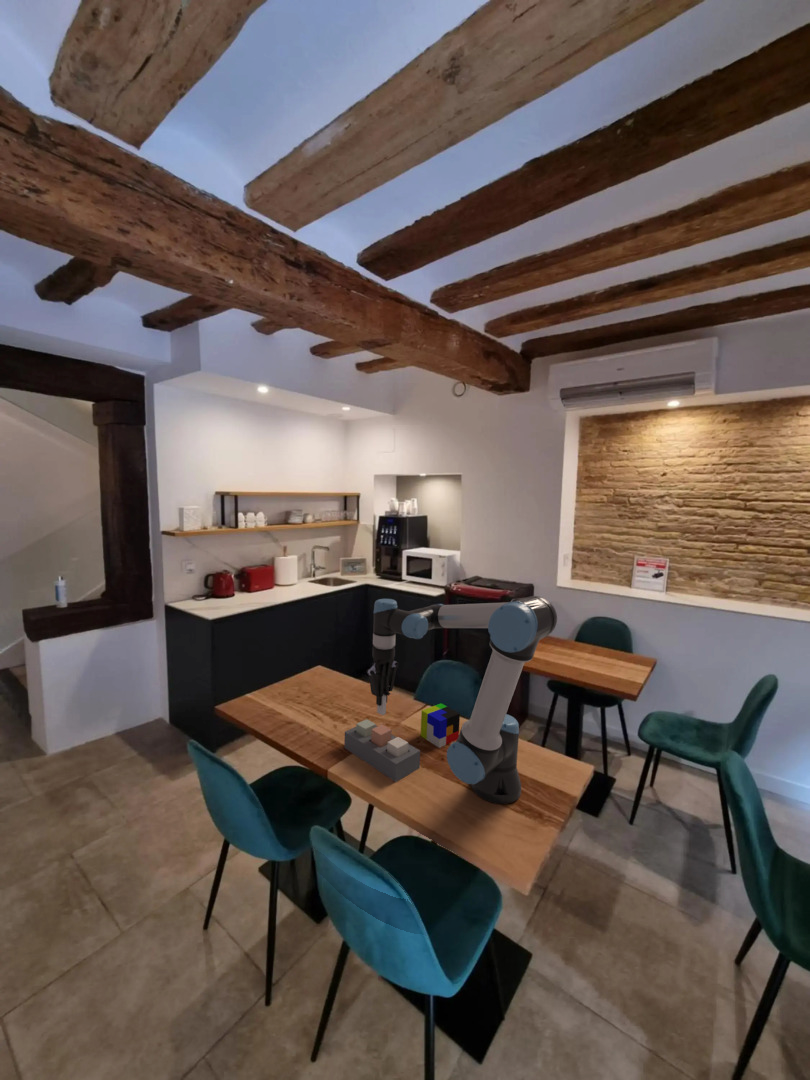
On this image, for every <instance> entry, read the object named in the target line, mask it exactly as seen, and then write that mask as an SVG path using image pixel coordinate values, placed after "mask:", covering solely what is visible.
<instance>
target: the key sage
mask: <svg viewBox="0 0 810 1080" xmlns="http://www.w3.org/2000/svg"><path fill="white" fill-rule="evenodd" d="M376 726H377V724H376V723H375V722H373V721H371V720H369V719H367V718H366V719H364V720H362V721H359V722H357V723H356V726H355V727H356V733H357V734H359V735H361V736H362V737H364V738H366V737H368V736H371V731H372V729H373V728H376Z"/></svg>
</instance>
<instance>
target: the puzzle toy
mask: <svg viewBox="0 0 810 1080" xmlns="http://www.w3.org/2000/svg"><path fill="white" fill-rule="evenodd" d="M460 716H461V713H460V712H458V711H456V710H454V709H452V708H451V707H449V706H447V705H445V704H444V703H442V702H441V703H439V704H436V705H433V706H430V707H426V708H424V709H421V717H420V719H421V720H420V737H422V738H423V739H425V740H426V741H428V742H430V743H431V744H433V745H434V746H435V747H437V748H442V747H444V746H447V745H448V744H452V743H453V742H456V741H457V739H458V736H459V733H460V720H461V719H460Z"/></svg>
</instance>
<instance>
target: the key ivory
mask: <svg viewBox="0 0 810 1080" xmlns="http://www.w3.org/2000/svg"><path fill="white" fill-rule="evenodd" d="M396 737H397V738H395V739H393V740H391V741H389V742H388V745H387V752H388V753H390V754H392V755H393V756H395V757H397V758H399V757H401V756H402V755H404V754H406V753H408V744H409V742H408V741H406V740H404V738H403V739H402V738H401V737H399V736H396Z"/></svg>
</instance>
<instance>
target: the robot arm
mask: <svg viewBox="0 0 810 1080" xmlns="http://www.w3.org/2000/svg"><path fill="white" fill-rule="evenodd" d="M373 607H374V608H373V630H372V631H373V632H372V653H371V654H372V658H373V661H372V666H371V667H370V668H366V674H367V675H368V679H369V686H370V692H371V695H373V696H374V697H375V699H376V700H375V701H376V702H375V704H376V706H377V707H376V713H377V714H379V715H381V716H385V715H386V714H387V713H386V712H387V711H386V710H387V703H388V696H390V695H391V693H390V692H392V691H393V690H394V689H393V688H394V685H395V678H396V675H397V669H398V667H399V666H400V663H399V662H397V661H395V657H396V640H397V639H396V634H399V635H402V636H404V637H406V638H409V639H415V640H421V639H422V638H423V637H424V636H425V635H426V634H427V633H428V631H430V630H433V629H488V633H489V635H490V636H489V639H490V640H489V647H490V648H491V649H492V651H491V655H490V659H489V662H488V664H487V667H486V670H485V673H484V676H483V679H482V682H481V685H480V688H479V692H478V694H477V697H476V699H475V703H474V707H473V709H472V712H471V714H470V715H471V716H470V718H469V719H468V720H466V721H464V722H463V723H462V725H461V727H460V729H459V736H458V739H457V740H455V741H453V742H451V743H450V745H449V746H448V748H447V750H446V760H447V763H448V765H449V768H450V770H451V772H452V773H453V774H454V776H455V777H456V778H457V779H459V780H460V781H461V782H462V783H465V784H467V785H471V789H472V790H473V792H474V793H475V794H476V795H477V796H478V797H479V798H481V799H482V800H484V801H487V802H490V803H492V804H500V805H501V804H502V805H504V804H505V805H506V804H511V803H514V802H516V801H517V800H519V798H520V797H521V794H522V782H521V778H520V775H519V771H518V767H517V765H518V751H519V736H520V735H519V734H520V730H519V726H520V724H519V722H518V720H517V719H516V718H515V717H514V716H512V715H510V714H507V713H508V710H509V706H510V703H511V702H512V698H513V696H514V693H515V690H516V687H517V684H518V682H519V679H520V676H521V673H522V671H523V667H524V665H525V663H528V662H531V661H532V660H533V658H534V656H535V653H536V650H537V647H538V644H539V642H540V640H543V639H544V638H547V637H549V635H550V634H552V633H553V632H554V631H555V629H556V625H557V622H558V614H557V611H556V608H555V606H553V604H552V603H551V602H550V601H549V600H548V599H546V598H544V597H542V596H538V595H531V596H526V597H519V598H512V599H511V601H507V602H487V603H486V602H485V603H465V604H464V603H462V604H460V603H459V604H444V603H435V604H431V605H429V606H425V607H421V608H416V609H413V610H409V611H408V610H403V609H400V608H398V602H397V600H395V599H392V598H380V599H377V600H375V602H374V605H373Z"/></svg>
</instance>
